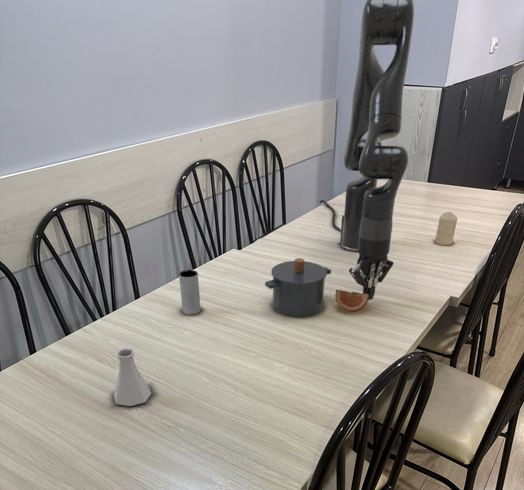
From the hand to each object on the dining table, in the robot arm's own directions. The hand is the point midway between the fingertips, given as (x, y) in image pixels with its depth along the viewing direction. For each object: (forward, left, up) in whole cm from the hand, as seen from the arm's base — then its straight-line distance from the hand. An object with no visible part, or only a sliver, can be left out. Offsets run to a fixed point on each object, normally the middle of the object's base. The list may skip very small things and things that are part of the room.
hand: (367, 298), depth 130 cm
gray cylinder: (-19, -41, -2) cm, 46 cm away
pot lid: (-8, -16, +7) cm, 20 cm away
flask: (+8, -65, -2) cm, 66 cm away
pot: (-8, -16, -2) cm, 18 cm away
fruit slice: (0, -5, -2) cm, 6 cm away
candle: (-22, +52, -2) cm, 57 cm away
